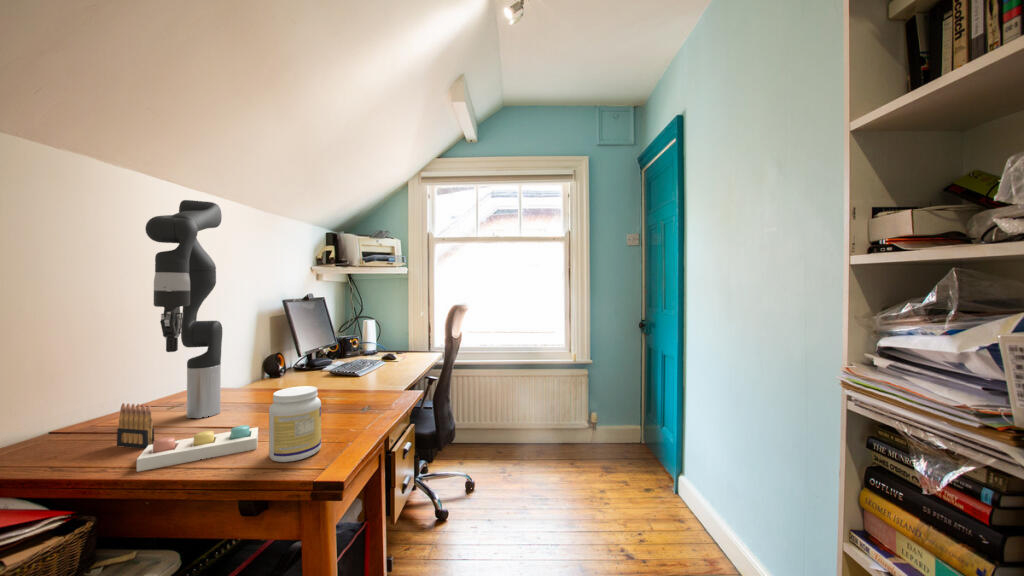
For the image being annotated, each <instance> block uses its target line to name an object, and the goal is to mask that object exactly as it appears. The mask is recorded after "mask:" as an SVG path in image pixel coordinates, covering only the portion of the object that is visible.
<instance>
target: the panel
mask: <svg viewBox="0 0 1024 576" xmlns="http://www.w3.org/2000/svg"><path fill="white" fill-rule="evenodd" d="M258 439H259V427H258V426H257V427H249V437H244V438H238V439H233V440H231V431H226V432H219V433H214V443H210V444H204V445H198V446H194V437H189V438H184V439H183V438H182V439H178V440H176V439H175V450H169V451H163V452H158V453H153V444H152V445H148V446H147V448H146V449H143V450H142V452H141V454H140V455H139V456H138V457H137V459H136V472H143V471H149V470H154V469H158V468H164V467H170V466H175V465H179V464H180V465H181V464H184V463H185V464H186V463H190V462H195V461H196V462H197V461H200V459H202V460H206V458H207V459H210V458H211V457H212V458H217V457H222V456H227V455H232V454H238V453H243V452H248V451H253V450H257V449H258V442H259V440H258Z"/></svg>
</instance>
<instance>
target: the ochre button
mask: <svg viewBox="0 0 1024 576" xmlns="http://www.w3.org/2000/svg"><path fill="white" fill-rule="evenodd" d="M214 432H215V431H213V430H205V431H200V432H197V433H195V434H193V438H194V446H198V445H204V444H210V443H214V434H215V433H214Z"/></svg>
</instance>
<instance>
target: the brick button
mask: <svg viewBox="0 0 1024 576" xmlns="http://www.w3.org/2000/svg"><path fill="white" fill-rule="evenodd" d="M175 441H176V437H175V436H169V437H168V436H167V437H163V438H157V439H154V442H153V453H158V452H163V451H169V450H175Z"/></svg>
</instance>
